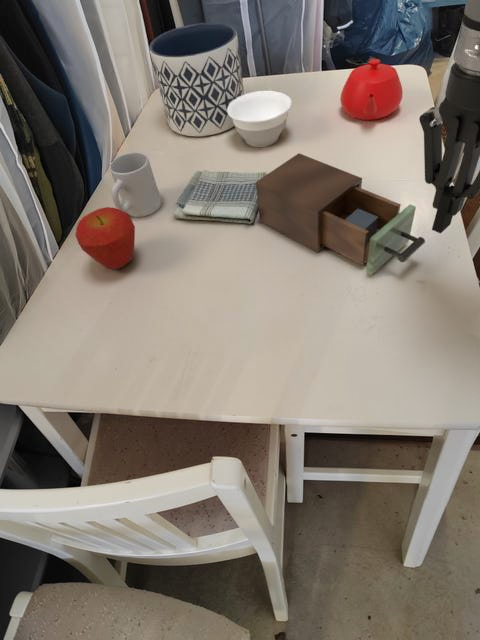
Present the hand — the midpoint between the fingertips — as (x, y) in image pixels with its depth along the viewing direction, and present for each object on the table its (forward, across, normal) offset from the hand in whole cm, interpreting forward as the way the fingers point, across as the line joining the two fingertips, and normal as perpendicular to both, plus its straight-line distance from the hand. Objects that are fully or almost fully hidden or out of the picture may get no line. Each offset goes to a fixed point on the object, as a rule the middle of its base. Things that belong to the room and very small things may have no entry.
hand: (441, 227), depth 68 cm
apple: (+12, -48, -34) cm, 60 cm away
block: (+10, -14, 0) cm, 17 cm away
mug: (+12, -60, -20) cm, 64 cm away
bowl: (+12, -58, +19) cm, 62 cm away
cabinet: (+12, -27, 0) cm, 29 cm away
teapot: (+12, -44, +44) cm, 63 cm away
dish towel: (+12, -47, -6) cm, 49 cm away
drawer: (+11, -12, 0) cm, 16 cm away
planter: (+12, -80, +18) cm, 83 cm away
